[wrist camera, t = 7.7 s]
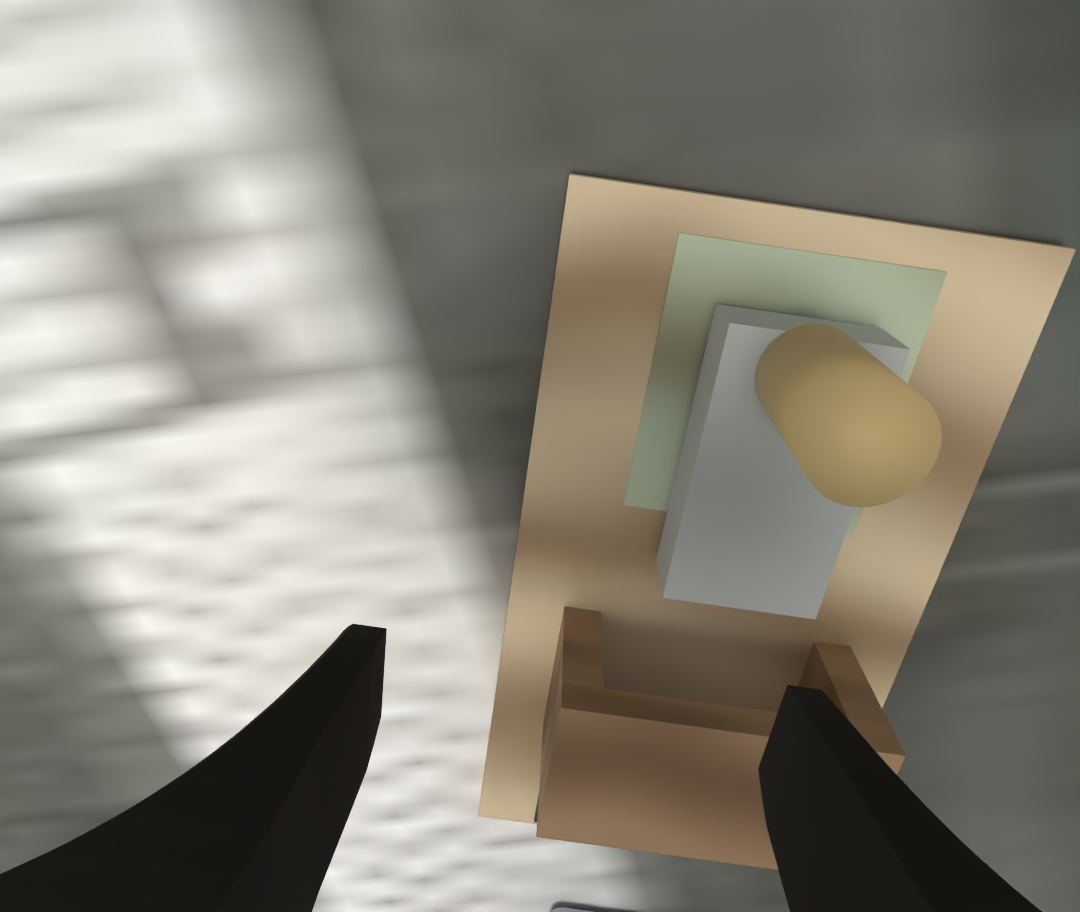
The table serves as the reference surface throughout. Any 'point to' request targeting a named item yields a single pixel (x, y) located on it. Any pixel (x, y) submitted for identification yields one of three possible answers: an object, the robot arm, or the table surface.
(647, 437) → the board
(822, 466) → the tan-topped grey block
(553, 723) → the tunnel
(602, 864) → the table surface
